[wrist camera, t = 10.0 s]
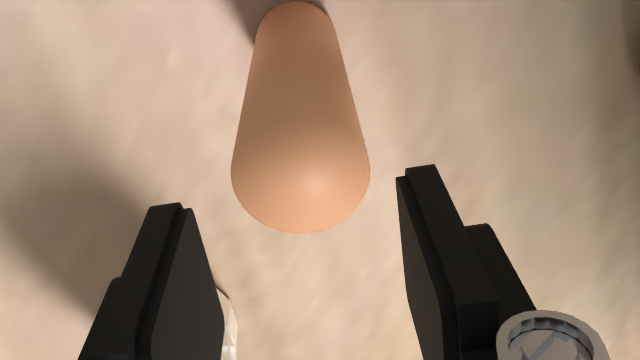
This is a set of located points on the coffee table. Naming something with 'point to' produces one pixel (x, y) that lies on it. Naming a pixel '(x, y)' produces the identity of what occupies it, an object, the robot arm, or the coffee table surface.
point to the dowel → (299, 126)
